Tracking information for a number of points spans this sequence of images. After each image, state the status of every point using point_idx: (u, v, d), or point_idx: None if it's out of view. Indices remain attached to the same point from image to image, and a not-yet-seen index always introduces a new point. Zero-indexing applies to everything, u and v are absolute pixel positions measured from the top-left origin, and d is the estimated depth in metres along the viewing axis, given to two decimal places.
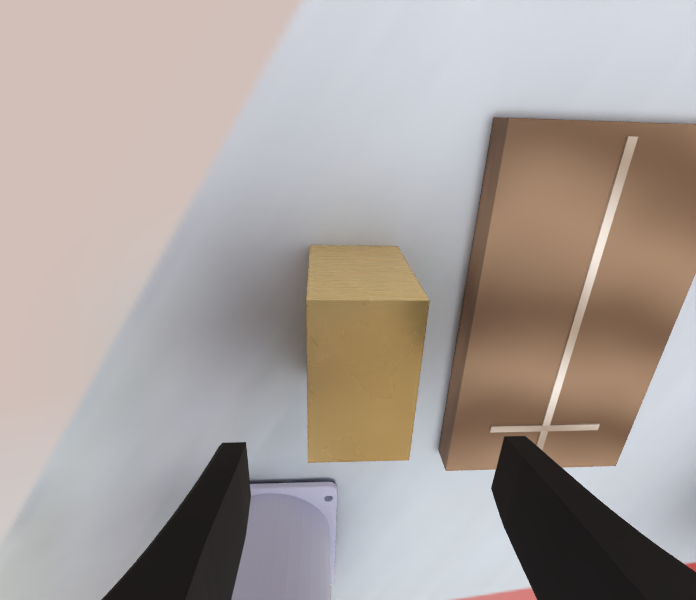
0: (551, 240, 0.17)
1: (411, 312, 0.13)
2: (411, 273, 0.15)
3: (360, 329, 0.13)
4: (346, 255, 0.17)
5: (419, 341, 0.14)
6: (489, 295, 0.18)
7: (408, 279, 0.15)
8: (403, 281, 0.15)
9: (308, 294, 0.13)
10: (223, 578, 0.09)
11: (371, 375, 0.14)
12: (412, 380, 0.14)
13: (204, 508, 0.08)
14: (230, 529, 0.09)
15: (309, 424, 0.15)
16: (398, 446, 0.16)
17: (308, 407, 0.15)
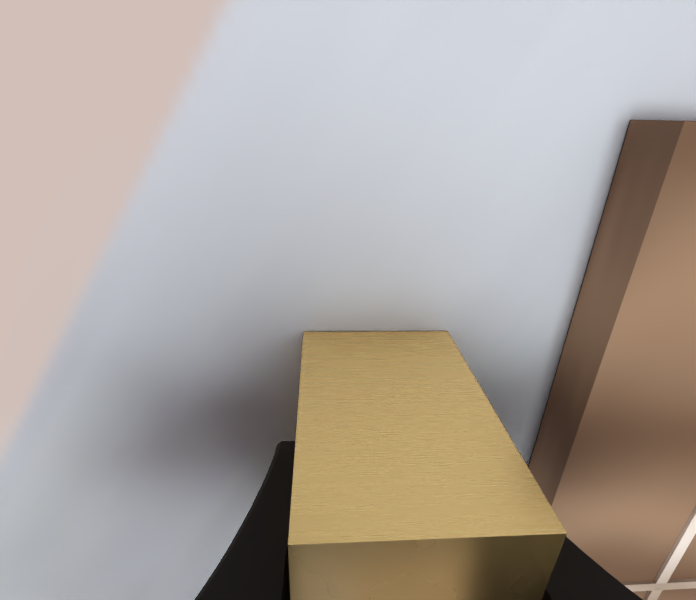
0: None
1: (522, 553, 0.06)
2: (494, 417, 0.08)
3: (408, 586, 0.06)
4: (367, 361, 0.10)
5: (532, 598, 0.06)
6: (602, 415, 0.11)
7: (496, 442, 0.07)
8: (487, 448, 0.07)
9: (294, 513, 0.06)
10: None
11: None
12: None
13: (278, 505, 0.08)
14: None
15: None
16: None
17: None
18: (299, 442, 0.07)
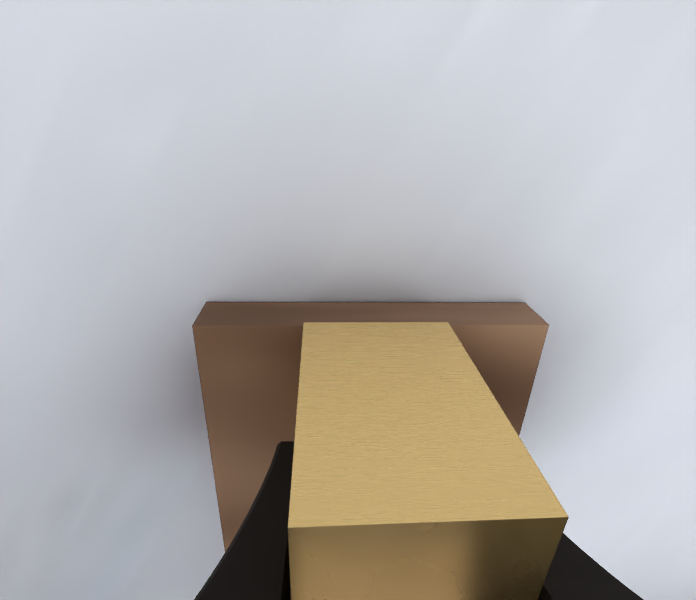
0: None
1: (523, 537, 0.06)
2: (495, 405, 0.08)
3: (409, 570, 0.06)
4: (367, 351, 0.10)
5: (534, 584, 0.06)
6: (235, 511, 0.14)
7: (496, 428, 0.07)
8: (488, 435, 0.07)
9: (293, 497, 0.06)
10: None
11: None
12: None
13: (278, 505, 0.08)
14: None
15: None
16: None
17: None
18: (299, 428, 0.07)
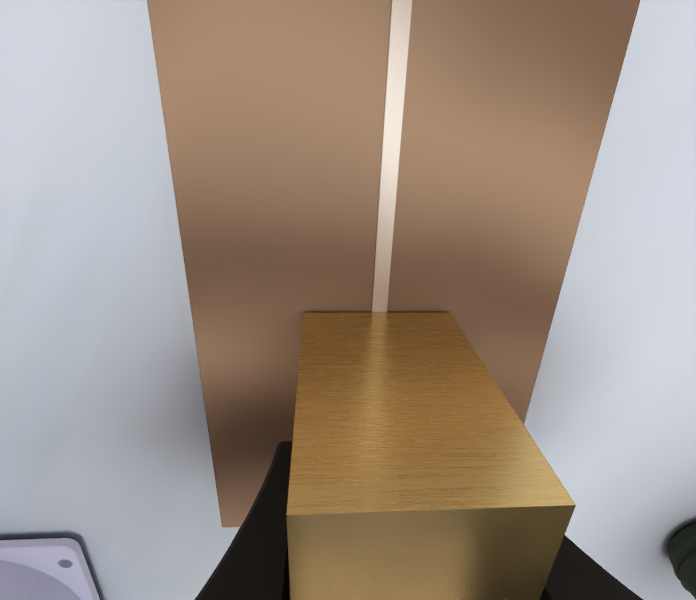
0: (294, 114, 0.09)
1: (529, 526, 0.06)
2: (499, 394, 0.08)
3: (410, 560, 0.06)
4: (367, 340, 0.10)
5: (539, 574, 0.06)
6: (202, 228, 0.10)
7: (500, 417, 0.07)
8: (492, 423, 0.07)
9: (292, 485, 0.06)
10: None
11: None
12: None
13: (279, 505, 0.08)
14: None
15: None
16: None
17: None
18: (298, 416, 0.07)
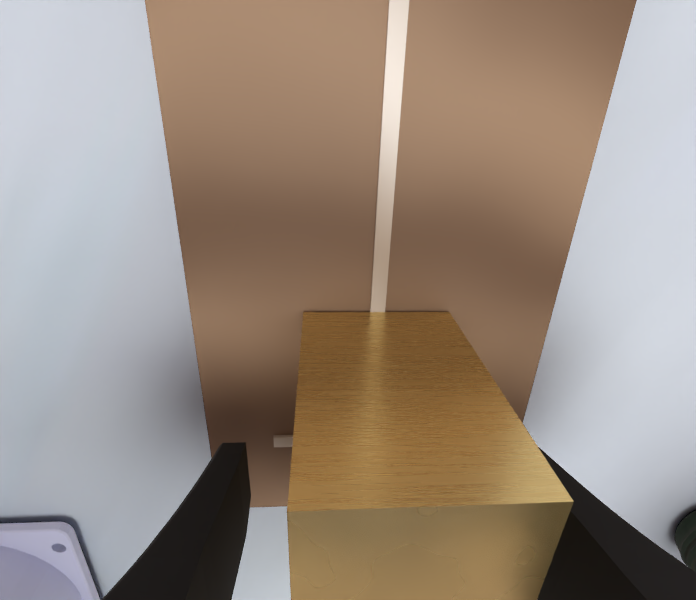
0: (291, 65, 0.09)
1: (527, 523, 0.06)
2: (498, 392, 0.08)
3: (410, 556, 0.06)
4: (367, 339, 0.10)
5: (537, 571, 0.06)
6: (196, 188, 0.09)
7: (499, 415, 0.07)
8: (491, 421, 0.07)
9: (292, 482, 0.06)
10: (223, 578, 0.09)
11: None
12: None
13: (204, 508, 0.08)
14: (230, 529, 0.09)
15: None
16: None
17: None
18: (299, 415, 0.07)
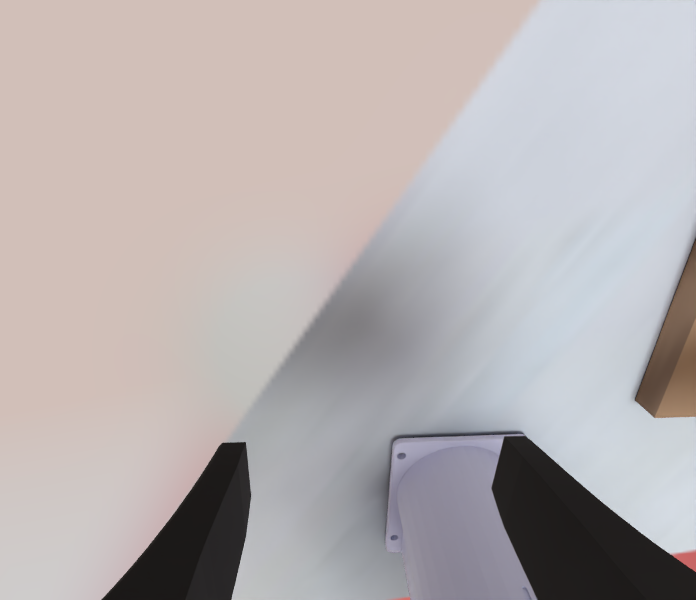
0: None
1: None
2: None
3: None
4: None
5: None
6: None
7: None
8: None
9: None
10: (223, 578, 0.09)
11: None
12: None
13: (204, 508, 0.08)
14: (230, 529, 0.09)
15: None
16: None
17: None
18: None
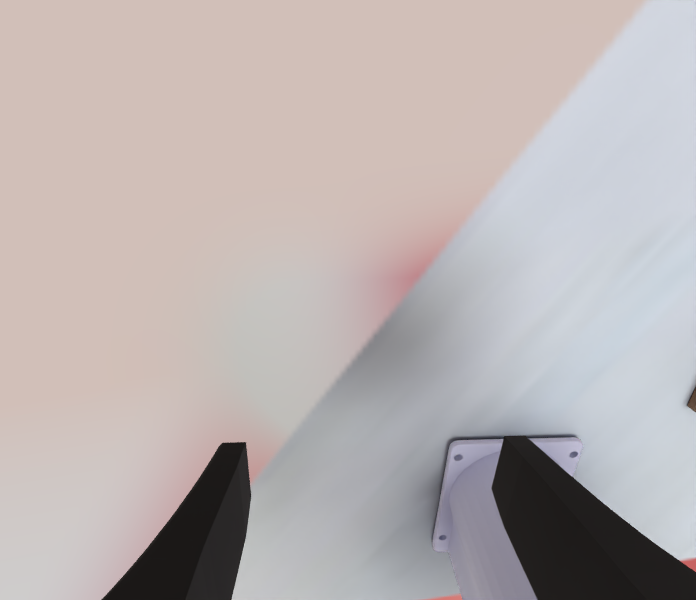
0: None
1: None
2: None
3: None
4: None
5: None
6: None
7: None
8: None
9: None
10: (223, 578, 0.09)
11: None
12: None
13: (204, 508, 0.08)
14: (230, 529, 0.09)
15: None
16: None
17: None
18: None
